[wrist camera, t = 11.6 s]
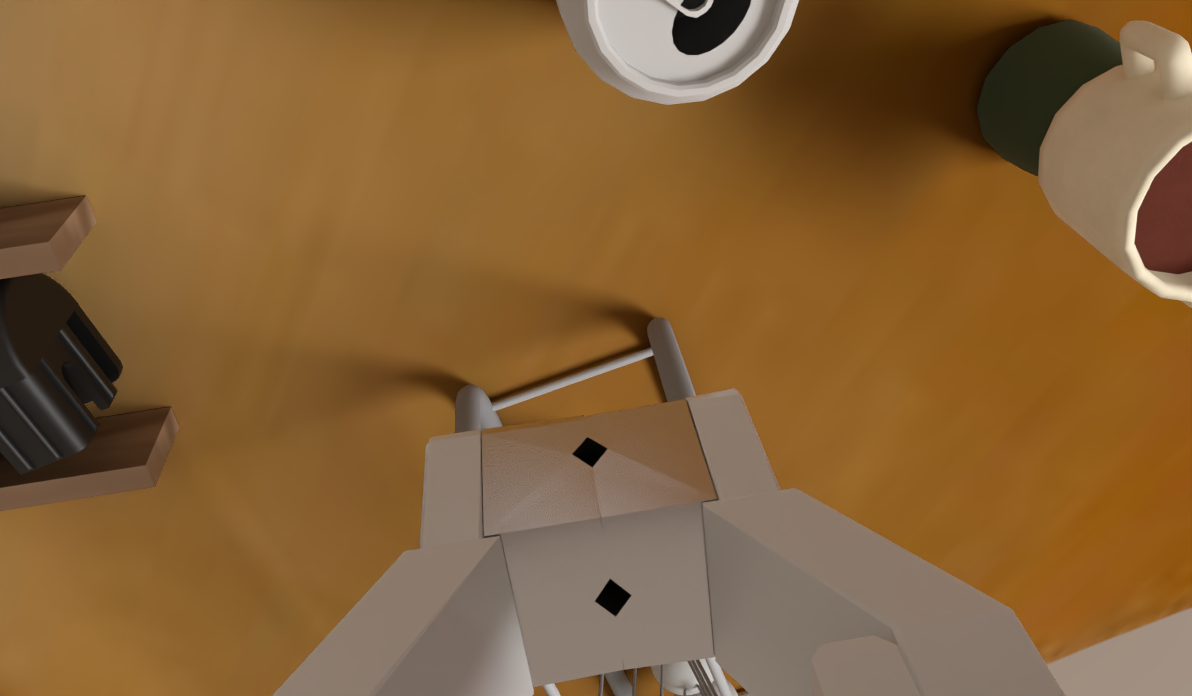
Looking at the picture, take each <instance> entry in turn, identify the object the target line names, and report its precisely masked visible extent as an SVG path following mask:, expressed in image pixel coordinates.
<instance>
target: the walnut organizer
mask: <svg viewBox="0 0 1192 696" xmlns="http://www.w3.org/2000/svg"><path fill="white" fill-rule="evenodd" d="M96 223H97V221H96V219H95V216H94V214H93V211H92V209H91V206H90V204H89V201H88V199H87V196H82V197H75V198H68V199H61V200H55V201H48V202H41V203H34V204H28V205H21V206H14V207H7V208H1V209H0V279H5V278H11V277H18V276H25V275H31V274H38V273H45V272H51V271H58V270H61V269H62V268H63V267H64V265H65V264H66V263H67V261H68V260H69V259H70V257H71V256H72V255H73V253H74V252H75V251H76V249H77V248H78V247H79V245H80V244H81V243H82V241H83V240H84V239H85V237H86V236H87V235H88V233H89V232H90V231H91V229H92V228H93V227H94V225H95V224H96ZM96 420H97V421H98V423H99V424H100V425H99V427H98V429H97V431H96V433H95V435H94V437H93V439H92V440H91V442H90V443H89V444H88V445H87V446H86V447H85V448H84V449H82V450H81V451H79V452H78V453H76V454H73V455H71V456H69V457H66V458H63V459H61V460H58V461H56V462H53V463H51V464H48V465H45V466H43V467H40V468H38V469H35V470H33V471H30V472H27V473H25V474H22V475H20V474H19V473H18V471H17V470H16V469H15V468H14V467H13V466H12V465H11V463H10V462H9V461H8V460H7V459H6V458H5V457H4V455H3V454H2V453H1V452H0V511H4V510H11V509H17V508H23V507H30V506H36V505H43V504H49V503H55V502H62V501H68V500H75V499H81V498H87V497H94V496H100V495H106V494H113V493H119V492H126V491H132V490H138V489H145V488H151V487H155V485H156V483H157V481H158V478H159V476H160V473H161V471H162V469H163V466H164V464H165V461H166V459H167V456H168V454H169V452H170V449H171V447H172V444H173V442H174V439H175V437H176V435H177V432H178V430H179V425H178V423H177V420H176V418H175V415H174V413H173V410H172V408H171V407H167V408H160V409H154V410H147V411H141V412H135V413H128V414H122V415H115V416H109V417H102V418H96Z"/></svg>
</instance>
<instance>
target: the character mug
mask: <svg viewBox="0 0 1192 696" xmlns="http://www.w3.org/2000/svg"><path fill="white" fill-rule="evenodd" d="M977 113H978V118H979V122H980V127H981V132H982V136H983V138H984V139H985V140H986V141H987V142H988V143H989V145H990V146H991V147H992V148H993V149H994V150H995V151H996V152H997V153H998V154H999V155H1000V156H1001V157H1002V158H1003V159H1005V160H1007V161H1009V162H1010V163H1012V164H1014V165H1016V166H1018V167H1019V168H1021V169H1023V170H1025V171H1027V172H1029V173H1031V174H1034V175H1036V176H1038V183H1039V185H1040V187H1041V189H1042V191H1043V193H1044V195H1045V197H1046V199H1047V201H1048V203H1049V205H1050V207H1051V208H1052V210H1053V211H1054V213H1055V214H1056V215H1057V216H1058V217H1059V218H1060V219H1061V220H1063V221H1064V222H1065V223H1066V224H1067V225H1069V226H1070V227H1071V228H1072V229H1073V230H1075V231H1076V232H1077V233H1078V234H1079V235H1081V236H1082V237H1083V238H1084V239H1085V240H1087V241H1088V242H1089V243H1090V244H1091V245H1092V246H1094V247H1095V248H1096V249H1097V250H1098V251H1100V252H1101V253H1102V254H1103V255H1104V256H1106V257H1107V258H1108V259H1109V260H1110V261H1112V262H1113V263H1114V264H1115V265H1116V266H1118V267H1119V268H1120V269H1121V270H1122V271H1124V272H1125V273H1126V274H1128V275H1129V276H1130V277H1132V278H1133V279H1134V280H1136V281H1137V282H1139V283H1140V284H1141V285H1143V286H1144V287H1146V288H1147V289H1148V290H1150V291H1151V292H1153V293H1154V294H1156V295H1158V296H1159V297H1161V298H1167V299H1174V300H1181V301H1182V302H1184V303H1185V304H1186V305H1187V306H1189V307H1191V308H1192V54H1191V50H1190V47H1189V43H1188V42H1187V41H1186V40H1185V39H1184V38H1183V37H1182V36H1180V35H1178V34H1176V33H1174V32H1171V31H1169V30H1167V29H1165V28H1162V27H1160V26H1158V25H1155V24H1153V23H1151V22H1148V21H1128V22H1127V23H1126V24H1125V26H1124V27H1123V28H1122V29H1121V30H1120V43H1119V42H1118V41H1116V40H1115V39H1113V38H1112V37H1110V36H1109V35H1108V34H1106V33H1105V32H1103V31H1102V30H1100V29H1099V28H1097V27H1094V26H1090V25H1087V24H1084V23H1080V22H1077V21H1074V20H1070V19H1069V20H1065V21H1062V22H1058V23H1054V24H1050V25H1047V26H1043V27H1039V28H1038V29H1036V30H1035V31H1033V32H1032V33H1030V34H1029V35H1027V36H1026V37H1024V38H1023V39H1021V40H1020V41H1018V42H1017V43H1015V44H1014V45H1012V46H1011V47H1009V48H1008V49H1007V51H1006V52H1005V53H1004V55H1003V56H1002V57H1001V58H1000V60H999V61H998V62H997V64H996V65H995V66H994V67H993V69H992V70H991V71H990V72H989V74H988V75H987V76H986V78H985V82H984V85H983V89H982V92H981V95H980V99H979V102H978V106H977Z"/></svg>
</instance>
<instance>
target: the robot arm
mask: <svg viewBox="0 0 1192 696" xmlns="http://www.w3.org/2000/svg"><path fill="white" fill-rule="evenodd" d="M713 657H715V661H716V662H717V663H718V664H719V665H720V666H721V667H722V668H723V669H724V670H725V671H726V672H727V673H728V674H729V675H730V676H731V677H732V678H734V679H735V680H736V681H737V682H738V683H739V684H740V685H741V686H742V687H743V688H744V689H745V690H746V691H747V692H748V693H749V694H750V695H751V696H1065V694H1064V693H1063V691H1062V689H1061V688H1060V686H1059V684H1058V683H1057V681H1056V680H1055V678H1054V676H1053V675H1052V673H1051V671H1050V670H1049V669H1048V667H1047V665H1046V663H1045V662H1044V660H1043V658H1042V657H1041V655H1040V654H1039V652H1038V650H1037V649H1036V647H1035V645H1034V644H1033V642H1032V641H1031V639H1030V637H1029V636H1028V634H1027V632H1026V631H1025V629H1024V628H1023V626H1022V624H1021V623H1020V621H1019V619H1018V618H1017V616H1016V615H1015V613H1014V611H1013V610H1012V609H1011V608H1009V607H1007V606H1005V605H1004V604H1002V603H1000V602H998V601H996V600H995V599H993V598H991V597H989V596H988V595H986V594H984V593H982V592H980V591H979V590H977V589H975V588H973V587H971V586H970V585H968V584H966V583H964V582H963V581H961V580H959V579H957V578H955V577H954V576H952V575H950V574H948V573H946V572H945V571H943V570H941V569H939V568H938V567H936V566H934V565H932V564H930V563H929V562H927V561H925V560H923V559H922V558H920V557H918V556H916V555H914V554H913V553H911V552H909V551H907V550H905V549H904V548H902V547H900V546H898V545H897V544H895V543H893V542H891V541H889V540H888V539H886V538H884V537H882V536H880V535H879V534H877V533H875V532H873V531H872V530H870V529H868V528H866V527H864V526H863V525H861V524H859V523H857V522H855V521H854V520H852V519H850V518H848V517H847V516H845V515H843V514H841V513H839V512H838V511H836V510H834V509H832V508H830V507H829V506H827V505H825V504H823V503H822V502H820V501H818V500H816V499H814V498H813V497H811V496H809V495H807V494H805V493H804V492H802V491H800V490H798V489H796V488H794V489H787V490H780V487H779V485H778V482H777V480H776V478H775V475H774V473H773V470H772V468H771V466H770V463H769V461H768V458H767V456H766V453H765V451H764V449H763V446H762V444H761V441H760V439H759V437H758V434H757V432H756V429H755V427H754V425H753V422H752V420H751V417H750V415H749V413H748V410H747V408H746V405H745V403H744V400H743V398H742V396H741V393H740V392H738V391H737V390H736V389H729V390H724V391H719V392H714V393H708V394H703V395H698V396H693V397H687V398H685V399H682V400H677V401H671V402H665V403H659V404H654V405H648V406H642V407H636V408H631V409H625V410H619V411H613V412H608V413H602V414H596V415H590V416H584V415H582V416H575V417H568V418H560V419H553V420H546V421H538V422H531V423H524V424H517V425H509V426H502V427H495V428H487V429H483V431H480V430H473V431H467V432H460V433H454V434H448V435H442V436H435V437H431V438H430V440H429V441H428V443H427V445H426V455H425V472H424V488H423V504H422V520H421V537H420V549H414V550H408V551H405V552H403V553H402V554H401V556H400V557H399V558H398V559H397V560H396V561H395V562H394V563H393V564H392V565H391V566H390V568H389V569H388V570H387V571H386V572H385V573H384V574H383V575H382V576H381V577H380V578H379V580H378V581H377V582H376V583H375V584H374V585H373V586H372V587H371V588H370V589H369V590H368V592H367V593H366V594H365V595H364V596H363V597H362V598H361V599H360V600H359V601H358V602H357V603H356V605H355V606H354V607H353V608H352V609H351V610H350V611H349V612H348V613H347V614H346V615H345V617H344V618H343V619H342V620H341V621H340V622H339V623H338V624H337V625H336V626H335V627H334V629H333V630H332V631H331V632H330V633H329V634H328V635H327V636H326V637H325V638H324V639H323V641H322V642H321V643H320V644H319V645H318V646H317V647H316V648H315V649H314V650H313V651H312V653H311V654H310V655H309V656H308V657H307V658H306V659H305V660H304V661H303V662H302V663H301V665H300V666H299V667H298V668H297V669H296V670H295V671H294V672H293V673H292V674H291V675H290V677H289V678H288V679H287V680H286V681H285V682H284V683H283V684H282V685H281V686H280V687H279V689H278V690H277V691H276V692H275V693H274V694H273V695H272V696H532V695H533V694H534V690H533V687H537V686H542V685H548V684H553V683H558V682H563V681H568V680H573V679H579V678H584V677H589V676H594V675H599V674H604V673H610V672H615V671H620V670H626V669H633V668H641V667H648V666H655V665H662V664H670V663H677V662H684V661H691V660H699V659H706V658H713ZM623 666H624V669H623Z"/></svg>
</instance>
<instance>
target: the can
mask: <svg viewBox="0 0 1192 696" xmlns="http://www.w3.org/2000/svg"><path fill="white" fill-rule="evenodd" d="M556 2H557V5H558V9H559V12H560V15H561V17H562V20H563V22H564V24H565V27H566V29H567V32H568V34H569V36H570V39H571V41H572V43H573V46H574V48H575V50H576V52H577V53H578V54H579V55H580V56H581V58H582V59H583V60H584V61H585V62H586V63H587V64H588V66H589V67H590V68H591V69H592V70H593V71H594V72H595V74H596V75H597V76H598V77H599V78H600V79H601V80H603V81H605V82H606V83H608V84H610V85H611V86H613V87H615V88H617V89H618V90H620V91H622V92H623V93H625V94H627V95H629V96H630V97H632V98H637V99H642V100H647V101H652V102H656V103H661V104H666V105H670V104H679V103H688V102H697V101H704V100H707V99H709V98H711V97H714V96H716V95H718V94H721V93H723V92H725V91H727V90H730V89H732V88H734V87H737V86H739V85H740V84H741V83H742V82H743V81H745V80H746V79H747V78H748V77H749V76H751V75H752V74H753V73H754V72H755V71H756V70H758V69H759V68H760V67H761V66H762V65H764V64H765V63H766V62H767V61H768V60H769V58H770V57H771V56H772V54H773V53H774V51H775V50H776V48H777V47H778V45H779V44H780V42H781V41H782V39H783V38H784V36H785V35H786V33H787V32H788V30H789V29H790V26H791V23H792V20H793V17H794V14H795V11H796V8H797V5H798V2H799V0H556Z"/></svg>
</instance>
